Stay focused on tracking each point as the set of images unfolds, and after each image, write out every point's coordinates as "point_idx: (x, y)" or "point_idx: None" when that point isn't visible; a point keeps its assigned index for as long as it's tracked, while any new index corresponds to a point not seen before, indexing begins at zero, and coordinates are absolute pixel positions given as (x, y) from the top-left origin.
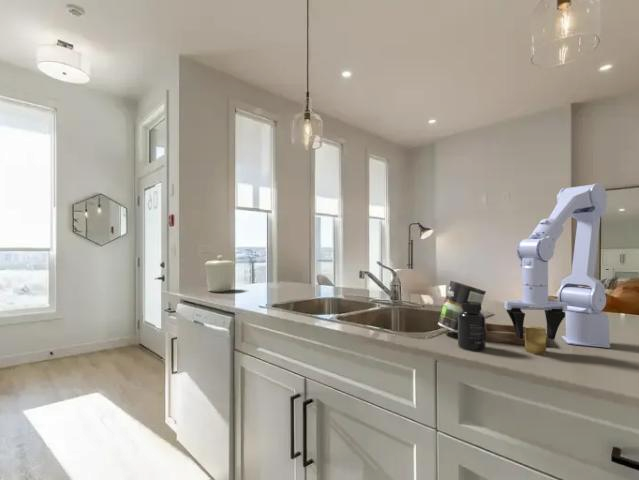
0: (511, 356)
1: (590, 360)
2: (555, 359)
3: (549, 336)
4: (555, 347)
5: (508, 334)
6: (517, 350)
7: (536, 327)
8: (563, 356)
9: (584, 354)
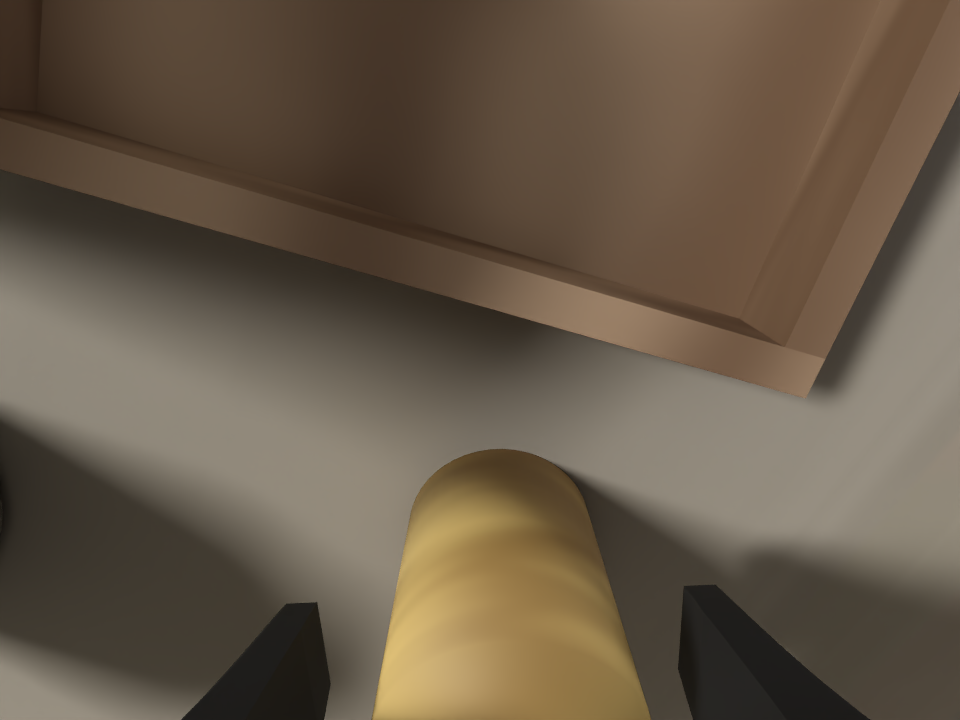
0: None
1: (844, 695)
2: None
3: (688, 647)
4: None
5: (290, 249)
6: (332, 513)
7: (558, 709)
8: None
9: (934, 551)
